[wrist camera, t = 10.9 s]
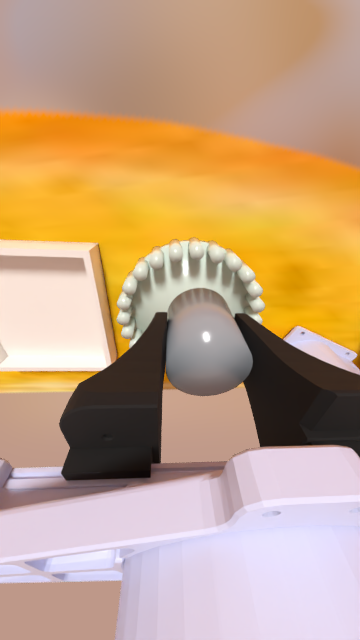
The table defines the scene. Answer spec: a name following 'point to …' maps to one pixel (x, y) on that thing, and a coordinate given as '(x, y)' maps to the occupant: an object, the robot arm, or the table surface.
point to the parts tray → (53, 307)
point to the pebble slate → (204, 344)
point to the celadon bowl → (185, 282)
